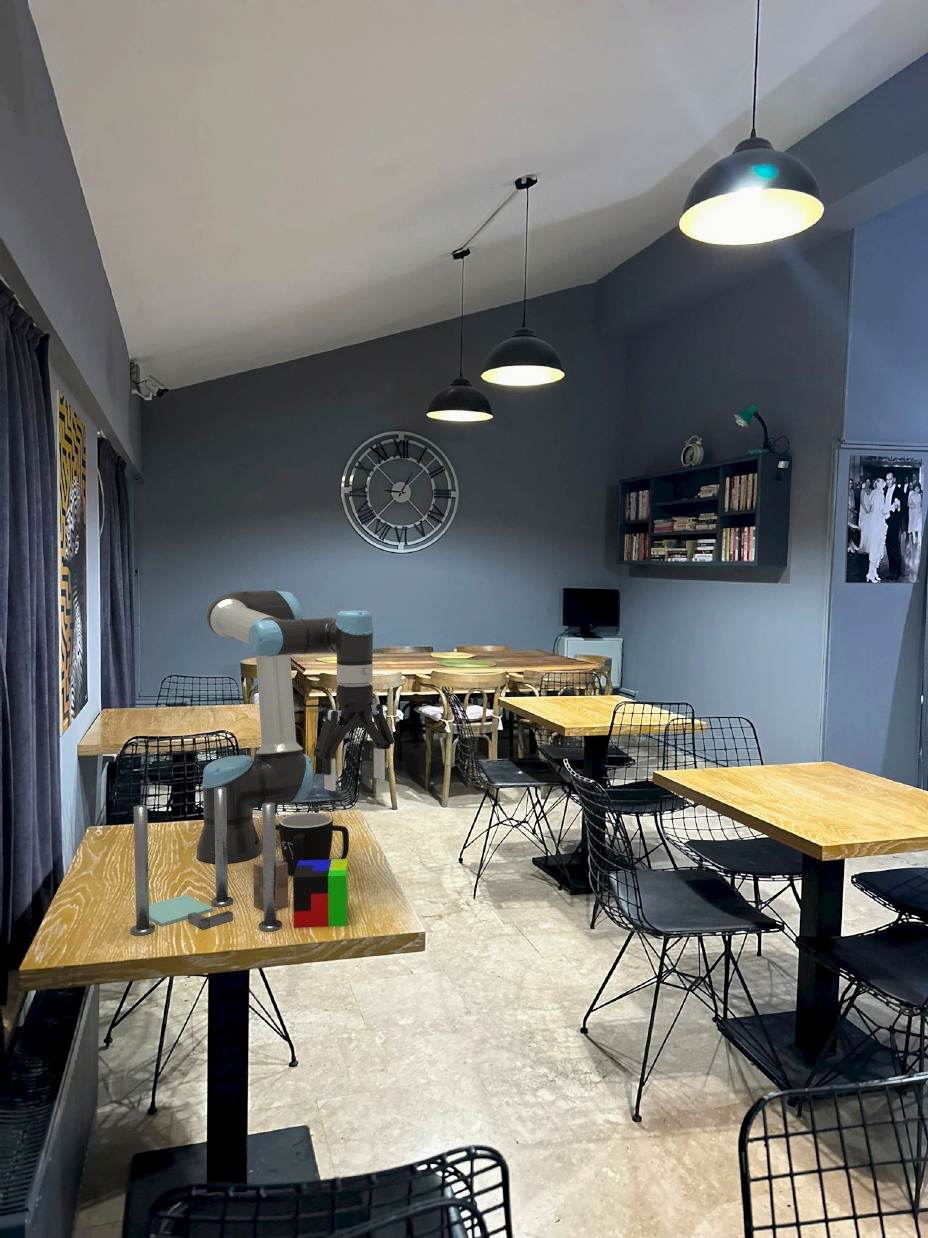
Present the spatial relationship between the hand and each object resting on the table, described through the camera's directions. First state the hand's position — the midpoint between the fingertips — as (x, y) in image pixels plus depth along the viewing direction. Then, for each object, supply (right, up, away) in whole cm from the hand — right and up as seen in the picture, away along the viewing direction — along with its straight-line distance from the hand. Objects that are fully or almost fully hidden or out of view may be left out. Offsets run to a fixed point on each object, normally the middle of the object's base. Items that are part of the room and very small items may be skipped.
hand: (355, 784), depth 183 cm
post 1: (-38, -25, -17) cm, 49 cm away
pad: (-36, -24, -8) cm, 44 cm away
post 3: (-14, -25, -16) cm, 33 cm away
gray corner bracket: (-27, -24, -13) cm, 39 cm away
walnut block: (-17, -24, -5) cm, 30 cm away
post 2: (-27, -24, -3) cm, 37 cm away
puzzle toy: (-5, -25, -11) cm, 27 cm away
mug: (-13, -23, +17) cm, 32 cm away
